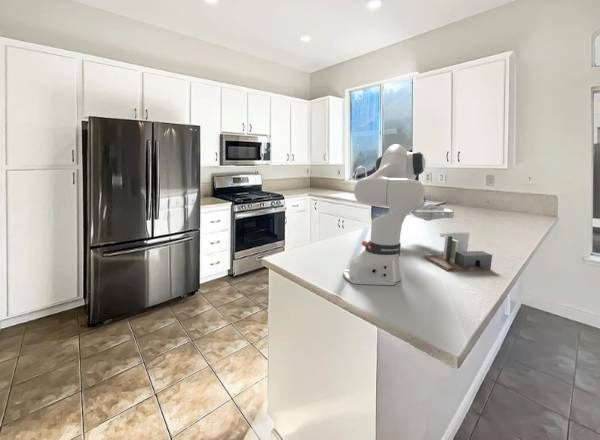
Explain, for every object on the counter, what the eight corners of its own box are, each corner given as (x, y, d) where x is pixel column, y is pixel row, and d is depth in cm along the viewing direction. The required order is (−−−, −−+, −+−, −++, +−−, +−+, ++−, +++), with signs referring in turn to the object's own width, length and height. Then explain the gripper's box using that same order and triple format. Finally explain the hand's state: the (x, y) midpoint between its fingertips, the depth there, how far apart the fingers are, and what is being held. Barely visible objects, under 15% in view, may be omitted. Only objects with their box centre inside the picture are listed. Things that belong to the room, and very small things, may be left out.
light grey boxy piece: (451, 263, 138) (453, 238, 136) (436, 255, 149) (438, 232, 147) (481, 262, 140) (484, 238, 138) (464, 254, 151) (466, 232, 149)
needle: (447, 261, 141) (449, 236, 139) (445, 260, 142) (448, 235, 140) (449, 261, 141) (452, 236, 139) (448, 260, 143) (450, 235, 141)
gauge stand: (447, 271, 133) (450, 245, 131) (423, 257, 152) (425, 234, 150) (490, 269, 136) (493, 244, 134) (462, 256, 155) (464, 234, 153)
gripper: (410, 206, 171) (423, 209, 158) (445, 206, 174) (461, 210, 161) (409, 218, 172) (422, 222, 159) (443, 218, 175) (459, 222, 162)
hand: (442, 216), depth 160 cm, fingers closed
